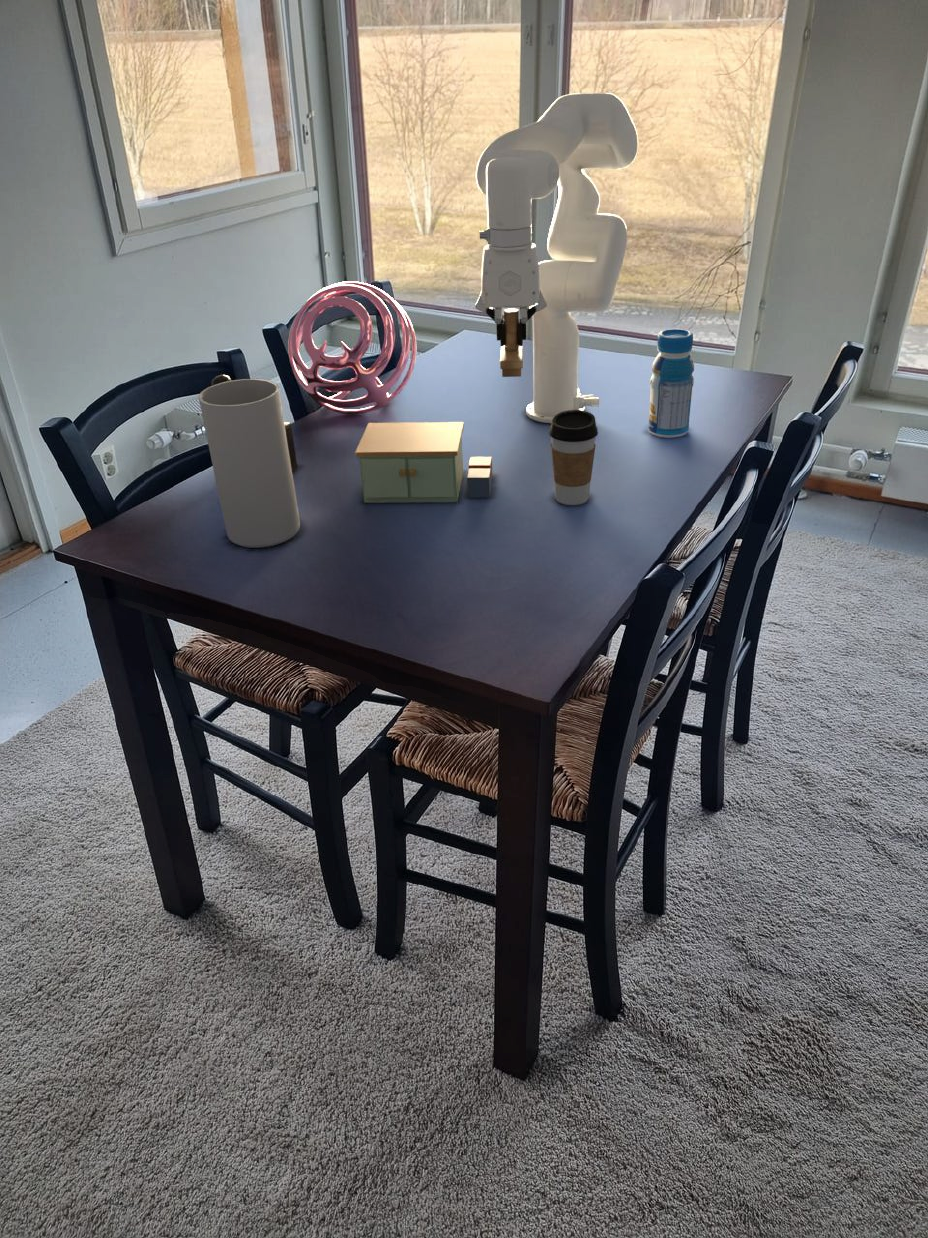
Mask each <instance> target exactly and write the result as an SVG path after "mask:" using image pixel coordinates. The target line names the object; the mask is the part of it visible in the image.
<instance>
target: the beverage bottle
mask: <svg viewBox="0 0 928 1238" xmlns="http://www.w3.org/2000/svg"><path fill="white" fill-rule="evenodd" d="M656 341H657V342H656V350H657V352H658V354H657V355H656V357H655V359H654V360H653V362H652V365H651V372H652V375H651V377H650V381H649V385H650V395H649V396H650V397H649V411H648V413H649V414H648V424H647V430H648V432H649V433H650V434H651V435H653V436H656V437H658V438H666V439H674V438H680V437H683V436H685V435H686V434H687V433H688V432H689V429H690V418H691V417H690V415H691V406H692V396H693V395H692V394H693V387H694V384H695V383H694V382H695V379H694V376H693V373H694V371H695V364H694V361H693V359H692V355H690V353H691V352H692V350H693V345H694V334H693V332H692V331H691V330H687V329H682V328H668V329H664V330H661V331H659V332H658V333H657V340H656Z"/></svg>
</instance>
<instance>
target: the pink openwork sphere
mask: <svg viewBox="0 0 928 1238" xmlns="http://www.w3.org/2000/svg"><path fill="white" fill-rule="evenodd" d="M353 295H361V296H362V297H365V298H366V299H368V300H369V301H370V303H372V304H373V305H374V307H375V308H376V309H377V310H378V313H379V314H380V317H381V319H382V323H383V328H384V337H383V338H384V339H383V344H382V347H381V351H380V353H379V355H378V357H377V359H376V360H375V361H374V363H372V365H371V366H370V367H369V368H367V369H366V368H365V367H363V366H362V364H361V359H362V358H363V357H364V356H365V354H366V353H367V351H368V349H370V345H371V343H372V339H373V323H372V320H371V316H370V315H369V312H368V311H367V310H366V308H365V307H364V306H363V305H362V304H361V303H360V302H358V301H356V300H355V299H352V298H350V297H347V296H353ZM321 297H322V298H321ZM320 298H321V299H320ZM319 299H320V300H319ZM317 300H318V301H317ZM316 301H317V302H316ZM384 301H385V302H387V303H388V304H390V306H391V307H392V308H393V310H394V311H395V313H396V315H397V317H398V320H399V322H400V326H401V332H402V347H401V348H402V349H401V352H400V357H399V360H398V362H397V365H396V367H395V369H394V371H393V372H392V374H391V375H390V377H388V379H387V380H386V381H384V383H383V384H382V382H381V381H380V379H379V378H378V377H379V376H380V375H381V373H383V371H384V370H385V368H386V367H387V365H388V363H389V361H390V360H391V357H392V354H393V351H394V347H395V342H396V331H395V330H396V329H395V324H394V320H393V317H392V314H391V312H390V310H389V309H388V307H387V305H386V304H385V302H384ZM313 303H314V305H313ZM310 306H312V307H310ZM309 307H310V308H309ZM334 307H343V308H346V309H348V310H349V311H351V312H352V313H353V314H354V315H355V316H356V318H357V320H358V323H359V337H358V338H357V339H358V340H357V342H356V343H355V345H354V347H352V348H349V347H348V346H347V344H345V343H344V342H343V341H341V340H340V345H341V347H342V350H343V354H341V355H336V356H334V355H333V356H332V355H328V354H325V352H326V351H325V350H326V347H327V343H328V341H327V340H325V341H324V342H323V344H322V345H321V346H320V347H319V348H318V347H317V346H316V345H315V342H314V340H313V335H312V330H313V325H314V322H315V321H316V319H317V318H318V317H319V315H320V314H321V313H323V312H324V311H325V310H327V309H329V308H334ZM308 309H309V310H308ZM307 310H308V311H307ZM306 311H307V312H306ZM305 313H306V314H305ZM291 324H292V325H291V327H290V330H289V334H288V344H287V345H288V346H287V349H288V350H287V351H288V357H289V358H288V360H289V363H290V367H291V370H292V373H293V374H294V377H295V379H296V380H297V382H298V383H299V385H300V386H301V388H303V390H304V391H305V392H306V394H307V395H308V396H309V397H310V398H311V399H312V400H313V401H314V402H315V403H317V404H318V405H319V406H321V407H323V408H325V409H327V410H328V411H329V410H330V411H332V412H334V413H337V414H342V415H363V414H367V413H368V414H369V413H372V412H374V411H375V412H376V411H377V410H380V409H382V408H383V409H384V408H385V407H387V406H389V405H390V404H391V403H392V402H393V401H394V400H395V399H396V398H397V397H398V396H399V395H400V394H401V392H402V391H403V390H404V389H405V387H406V386H407V384H408V383H409V381H410V378H411V377H412V375H413V372H414V369H415V365H416V361H417V351H418V350H417V349H418V347H417V337H416V332H415V329H414V326H413V324H412V322H411V319H410V317H409V316H408V314H407V312H406V311H405V310H404V308H403V307H402V306H401V305H400V304H399V303H398V302H397V301H396V300H394V298H393V297H391V296H390V295H389V294H388V293H386V292H385V291H384V290H382V289H380V288H378V287H376V286H374V285H371V284H368V283H366V282H365V283H364V282H359V281H342V282H338V283H334V284H331V285H329V286H326V287H323V288H322V289H320V290H318V291H317V292H316V293H314V294H313V295H312V296H310V298H308V299H307V300H306V301H305V303H303V304H302V306H301V307H300V309H299V310H298V312H297V313H296V315H295V316H294V319H293V321H292V323H291ZM302 343H303V347H304V349H305V351H306V354H307V355H308V356H309V358H310V359H311V366H310V367H309V368H308V366H307V365H306V364H305V363H304V361H303V359H302V356H301V345H302ZM410 351H411V357H410ZM409 357H410V362H409V366H408V369H407V371H406V374H405V376H404V377H403V379H402V381H401V382H400V384H399V385H398V387H397V388H396V389H395V390H394V391H392V393H391V394H389V392H390V390H391V389H392V388H394V386H395V385H396V384H397V382H398V381H399V380H400V378H401V377H402V375H403V373H404V372H405V371H404V370H405V369H406V366H407V363H408V360H409ZM321 367H322V368H326V369H329V370H341V369H346V368H349V367H350V368H352V369H353V370H354V371H355V375H356V376H355V377H354V378H351V379H348V380H342V381H337V380H336V381H334V380H329V379H325V378H322V377H321V376H320V375H319V370H320V368H321ZM317 388H319V389H322V390H324V391H328V392H333V393H334V392H335V393H337V394H334V395H332V396H329V397H327V396H325V395H322V394H321V393H320V392H319V391H318V390H317ZM358 389H365V390H366V391H367V393H366V395H364V396H362V397H359V398H354V399H346V398H347V397H348V396H349V395H350V394H351V393H352V392H353V391H355V390H358ZM345 399H346V400H345ZM373 403H375V404H374V405H371V406H367V407H365V408H360V409H352V408H357V407H362V406H366V405H368V404H373ZM347 408H349V409H347ZM350 408H351V409H350Z"/></svg>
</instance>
